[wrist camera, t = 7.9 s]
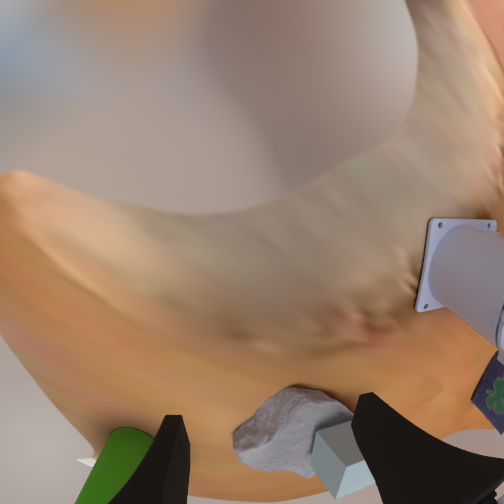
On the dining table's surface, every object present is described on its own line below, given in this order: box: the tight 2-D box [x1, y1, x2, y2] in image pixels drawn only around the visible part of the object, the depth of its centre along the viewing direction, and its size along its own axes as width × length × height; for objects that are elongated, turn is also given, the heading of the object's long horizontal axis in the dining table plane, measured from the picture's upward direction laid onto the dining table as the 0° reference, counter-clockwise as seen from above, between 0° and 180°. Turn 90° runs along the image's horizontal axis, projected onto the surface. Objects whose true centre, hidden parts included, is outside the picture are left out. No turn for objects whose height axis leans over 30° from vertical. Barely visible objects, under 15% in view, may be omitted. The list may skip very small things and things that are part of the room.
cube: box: [310, 420, 375, 499], centre depth 19 cm, size 4×4×5 cm
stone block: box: [233, 387, 354, 478], centre depth 24 cm, size 12×5×10 cm
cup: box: [75, 428, 154, 504], centre depth 18 cm, size 9×9×11 cm
